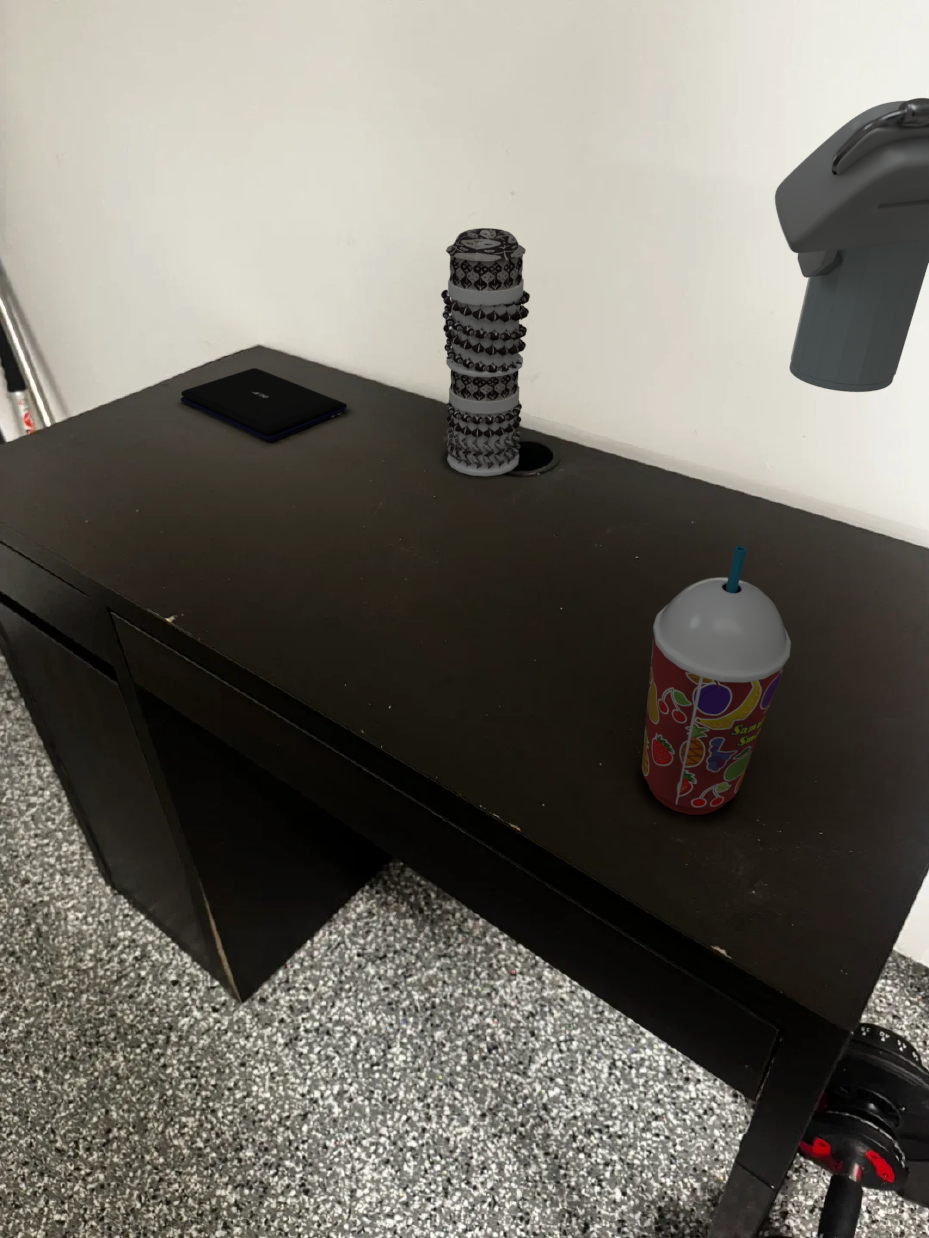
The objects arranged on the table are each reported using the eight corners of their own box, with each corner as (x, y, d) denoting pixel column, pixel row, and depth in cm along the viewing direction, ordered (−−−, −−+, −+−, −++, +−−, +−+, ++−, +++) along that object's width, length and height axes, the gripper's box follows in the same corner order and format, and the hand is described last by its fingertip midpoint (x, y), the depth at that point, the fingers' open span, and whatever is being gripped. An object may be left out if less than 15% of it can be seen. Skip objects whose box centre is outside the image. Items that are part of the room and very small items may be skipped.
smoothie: (742, 844, 60) (813, 602, 48) (618, 813, 62) (657, 573, 50) (752, 759, 66) (817, 525, 54) (639, 733, 68) (678, 503, 56)
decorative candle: (511, 483, 100) (519, 249, 85) (433, 471, 102) (428, 241, 87) (531, 448, 107) (542, 227, 92) (458, 438, 109) (457, 220, 94)
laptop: (278, 371, 127) (277, 357, 125) (358, 416, 114) (357, 401, 113) (174, 399, 118) (171, 385, 117) (247, 451, 106) (245, 436, 105)
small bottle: (914, 380, 58) (989, 139, 50) (845, 399, 56) (912, 149, 47) (835, 350, 63) (891, 125, 54) (768, 367, 60) (817, 133, 52)
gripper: (907, 170, 39) (735, 326, 52) (1229, 144, 45) (1001, 290, 58) (864, 42, 40) (705, 227, 53) (1186, 33, 46) (971, 202, 59)
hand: (862, 260), depth 55 cm, fingers closed on small bottle, 6 cm apart
